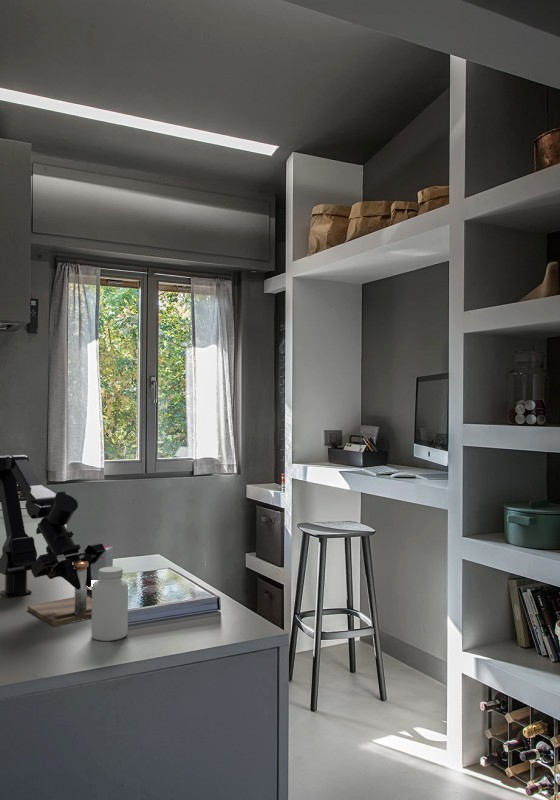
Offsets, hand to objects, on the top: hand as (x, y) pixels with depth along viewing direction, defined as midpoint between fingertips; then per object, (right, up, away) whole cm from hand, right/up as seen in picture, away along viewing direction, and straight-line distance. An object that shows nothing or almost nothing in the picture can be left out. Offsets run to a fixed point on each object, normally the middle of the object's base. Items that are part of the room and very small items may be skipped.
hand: (84, 587), depth 161 cm
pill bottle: (+9, -8, -12) cm, 17 cm away
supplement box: (-4, -8, +27) cm, 28 cm away
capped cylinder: (-1, -7, +1) cm, 8 cm away
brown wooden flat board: (-5, -8, +6) cm, 11 cm away
